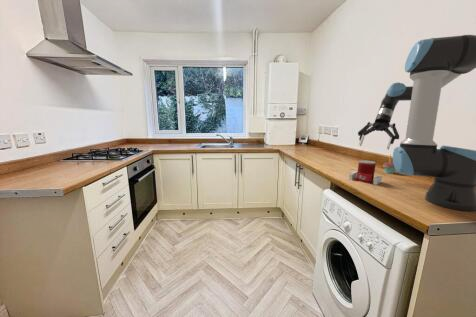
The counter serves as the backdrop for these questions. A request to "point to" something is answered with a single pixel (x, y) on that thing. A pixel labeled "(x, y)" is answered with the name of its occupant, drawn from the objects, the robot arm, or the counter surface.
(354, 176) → the channel
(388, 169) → the cupcake
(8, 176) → the counter surface
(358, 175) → the canned food
